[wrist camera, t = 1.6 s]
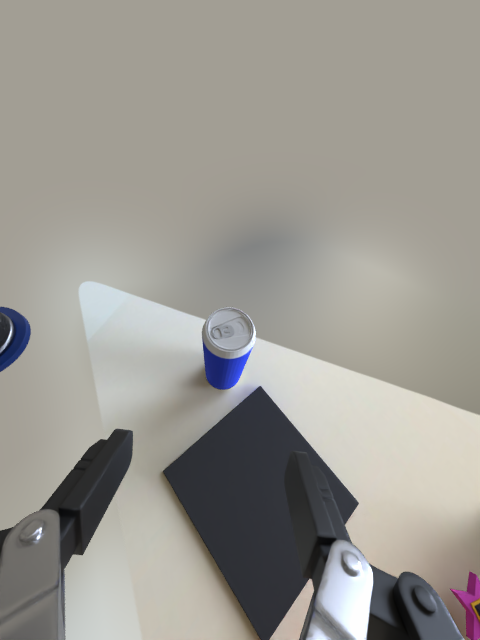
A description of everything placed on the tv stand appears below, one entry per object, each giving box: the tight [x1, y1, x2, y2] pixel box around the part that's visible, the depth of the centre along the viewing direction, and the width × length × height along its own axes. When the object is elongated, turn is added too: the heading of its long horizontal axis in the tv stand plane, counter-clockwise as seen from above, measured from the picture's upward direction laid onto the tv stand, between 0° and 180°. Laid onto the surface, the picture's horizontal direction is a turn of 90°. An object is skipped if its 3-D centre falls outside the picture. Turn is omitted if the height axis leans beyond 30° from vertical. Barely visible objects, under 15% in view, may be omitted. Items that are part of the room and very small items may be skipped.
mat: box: [163, 386, 359, 640], centre depth 27 cm, size 16×18×1 cm
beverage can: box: [202, 307, 256, 390], centre depth 27 cm, size 5×5×15 cm
